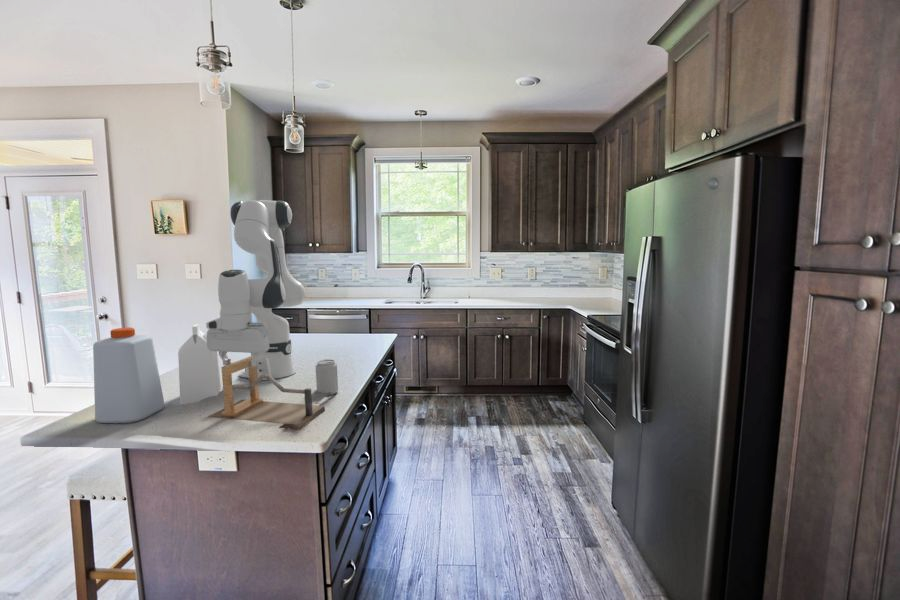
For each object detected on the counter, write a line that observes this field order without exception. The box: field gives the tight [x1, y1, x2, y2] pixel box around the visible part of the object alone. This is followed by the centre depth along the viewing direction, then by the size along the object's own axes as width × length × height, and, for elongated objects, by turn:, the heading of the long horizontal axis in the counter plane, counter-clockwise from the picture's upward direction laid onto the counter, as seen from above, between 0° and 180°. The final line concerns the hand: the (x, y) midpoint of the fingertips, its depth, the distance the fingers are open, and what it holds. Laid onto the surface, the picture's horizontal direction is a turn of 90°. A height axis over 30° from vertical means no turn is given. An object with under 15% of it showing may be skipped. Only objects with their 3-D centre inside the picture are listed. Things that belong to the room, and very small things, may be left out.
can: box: [315, 358, 339, 397], centre depth 154 cm, size 8×8×12 cm
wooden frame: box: [220, 355, 264, 418], centre depth 136 cm, size 5×13×16 cm, turn 167°
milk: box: [177, 323, 223, 405], centre depth 152 cm, size 12×12×26 cm
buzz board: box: [207, 375, 326, 430], centre depth 134 cm, size 31×15×13 cm, turn 77°
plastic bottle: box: [92, 327, 165, 424], centre depth 135 cm, size 15×15×28 cm
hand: (239, 365), depth 135 cm, fingers open, 8 cm apart
